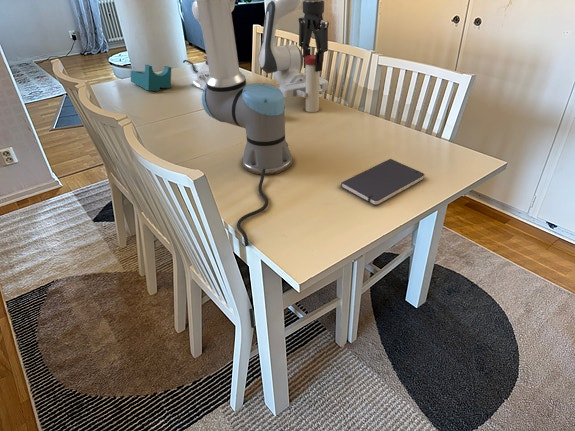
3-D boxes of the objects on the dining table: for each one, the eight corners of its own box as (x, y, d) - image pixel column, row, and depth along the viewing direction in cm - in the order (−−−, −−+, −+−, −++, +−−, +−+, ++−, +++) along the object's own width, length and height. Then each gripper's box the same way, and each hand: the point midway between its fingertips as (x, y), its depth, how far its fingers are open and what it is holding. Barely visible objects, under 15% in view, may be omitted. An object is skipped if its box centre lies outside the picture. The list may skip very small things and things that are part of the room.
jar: (302, 108, 163) (302, 58, 151) (314, 106, 165) (315, 56, 153) (310, 113, 159) (310, 61, 147) (321, 110, 161) (323, 59, 149)
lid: (324, 62, 151) (324, 56, 150) (312, 66, 148) (312, 59, 146) (313, 59, 155) (313, 53, 153) (301, 62, 151) (301, 56, 150)
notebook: (389, 163, 124) (340, 187, 113) (390, 158, 123) (341, 182, 112) (424, 178, 116) (375, 206, 105) (425, 174, 115) (376, 201, 104)
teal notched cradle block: (170, 90, 188) (171, 67, 184) (148, 90, 181) (148, 66, 177) (152, 82, 199) (152, 60, 195) (130, 81, 192) (130, 58, 187)
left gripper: (274, 80, 162) (289, 90, 152) (318, 72, 169) (335, 81, 159) (274, 95, 165) (290, 106, 155) (317, 87, 173) (335, 97, 163)
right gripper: (340, 1, 135) (337, 72, 148) (303, -4, 147) (303, 62, 160) (324, 4, 131) (322, 76, 145) (287, -2, 143) (289, 65, 157)
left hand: (313, 93), depth 157 cm, fingers closed on jar, 5 cm apart
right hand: (312, 68), depth 152 cm, fingers closed on lid, 6 cm apart
